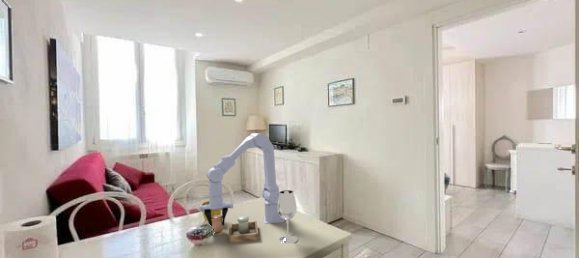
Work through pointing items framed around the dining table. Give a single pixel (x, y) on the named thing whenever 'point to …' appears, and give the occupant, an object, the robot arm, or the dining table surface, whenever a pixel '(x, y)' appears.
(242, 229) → the sage pot
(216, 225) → the terracotta pot
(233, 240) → the wooden tray
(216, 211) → the plant pot
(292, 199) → the wineglass
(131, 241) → the dining table surface
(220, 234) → the cork mat
